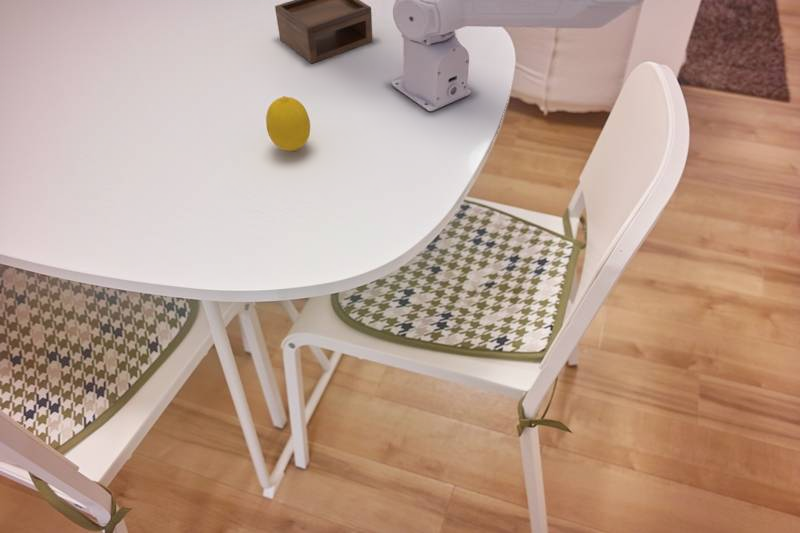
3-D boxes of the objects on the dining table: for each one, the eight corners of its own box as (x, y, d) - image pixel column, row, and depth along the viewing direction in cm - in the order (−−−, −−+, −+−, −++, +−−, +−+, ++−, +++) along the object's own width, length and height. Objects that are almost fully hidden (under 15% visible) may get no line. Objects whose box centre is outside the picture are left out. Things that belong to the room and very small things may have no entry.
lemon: (318, 157, 81) (311, 104, 75) (277, 167, 79) (267, 113, 73) (306, 134, 84) (299, 82, 78) (267, 143, 83) (256, 90, 77)
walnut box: (372, 41, 102) (371, 7, 98) (311, 63, 97) (307, 28, 93) (339, 20, 108) (337, -14, 103) (280, 40, 103) (274, 5, 98)
